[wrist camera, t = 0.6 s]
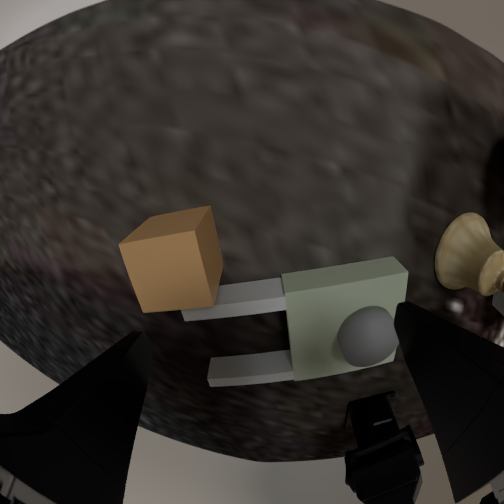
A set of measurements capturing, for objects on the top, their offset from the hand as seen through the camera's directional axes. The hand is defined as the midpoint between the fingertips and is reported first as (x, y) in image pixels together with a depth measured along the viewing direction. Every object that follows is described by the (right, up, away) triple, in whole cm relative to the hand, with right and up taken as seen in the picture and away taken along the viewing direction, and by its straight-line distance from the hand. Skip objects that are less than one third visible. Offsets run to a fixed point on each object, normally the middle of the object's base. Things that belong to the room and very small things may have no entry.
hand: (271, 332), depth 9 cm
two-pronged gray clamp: (+4, -4, +16) cm, 16 cm away
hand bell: (+21, +3, +13) cm, 25 cm away
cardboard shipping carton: (-6, +4, +13) cm, 15 cm away
